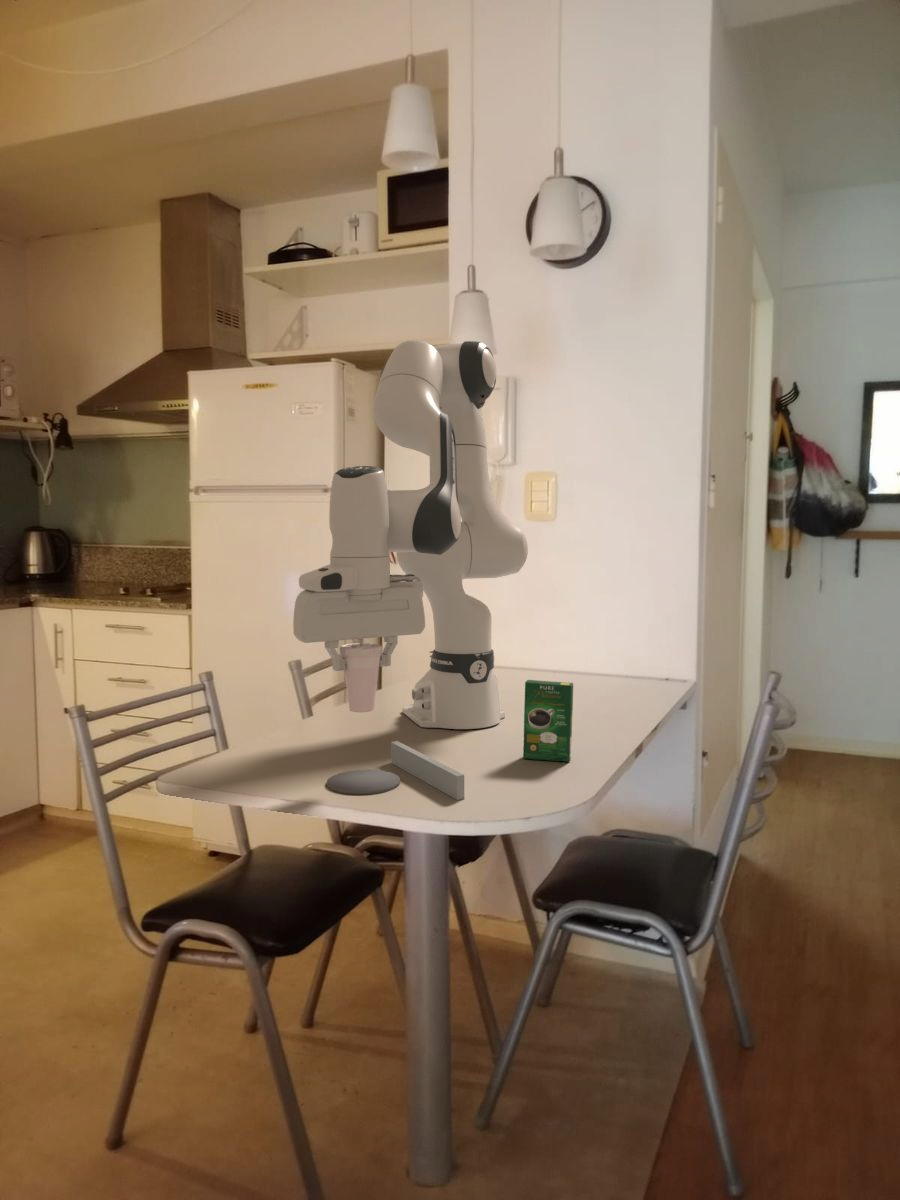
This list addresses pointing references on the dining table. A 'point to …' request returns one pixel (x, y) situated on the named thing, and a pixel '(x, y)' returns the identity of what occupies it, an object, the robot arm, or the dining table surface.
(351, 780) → the pad
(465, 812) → the dining table surface
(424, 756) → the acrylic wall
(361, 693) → the smoothie
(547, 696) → the coffee box
